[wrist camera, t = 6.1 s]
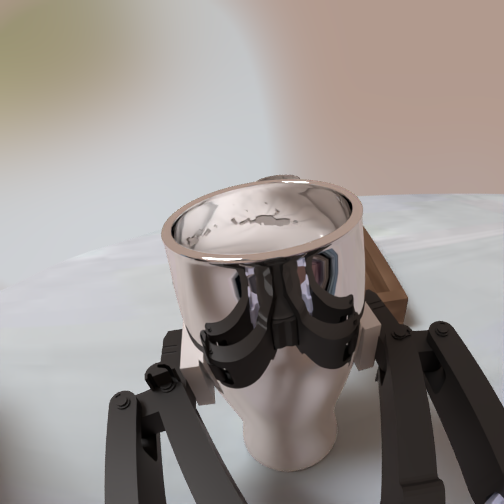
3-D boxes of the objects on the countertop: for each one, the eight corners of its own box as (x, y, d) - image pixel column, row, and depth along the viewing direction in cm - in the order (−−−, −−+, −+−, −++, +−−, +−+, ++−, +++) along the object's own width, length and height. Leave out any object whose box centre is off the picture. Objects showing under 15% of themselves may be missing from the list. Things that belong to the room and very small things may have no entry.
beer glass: (294, 375, 21) (271, 170, 14) (365, 427, 16) (408, 198, 9) (217, 427, 18) (130, 221, 11) (283, 498, 13) (228, 305, 5)
